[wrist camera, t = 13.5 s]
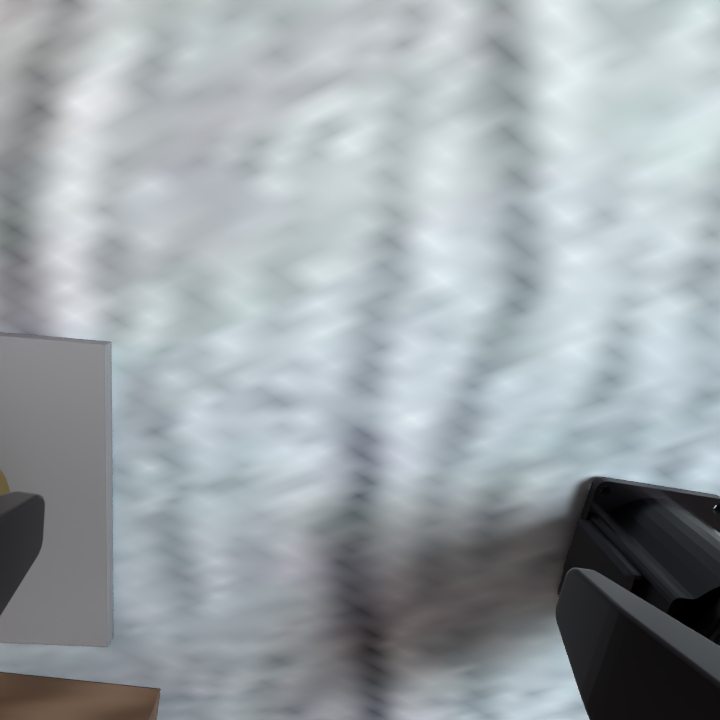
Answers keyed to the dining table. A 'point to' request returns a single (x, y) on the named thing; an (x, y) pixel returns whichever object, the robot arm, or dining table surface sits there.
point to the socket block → (73, 700)
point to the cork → (3, 484)
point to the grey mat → (60, 485)
